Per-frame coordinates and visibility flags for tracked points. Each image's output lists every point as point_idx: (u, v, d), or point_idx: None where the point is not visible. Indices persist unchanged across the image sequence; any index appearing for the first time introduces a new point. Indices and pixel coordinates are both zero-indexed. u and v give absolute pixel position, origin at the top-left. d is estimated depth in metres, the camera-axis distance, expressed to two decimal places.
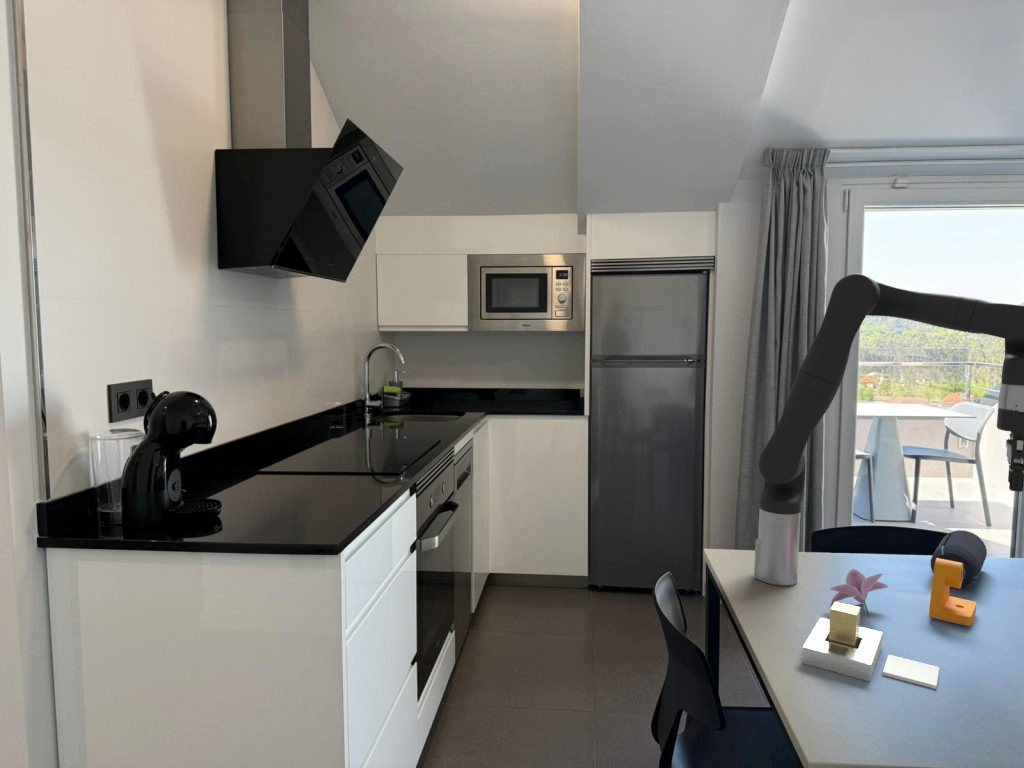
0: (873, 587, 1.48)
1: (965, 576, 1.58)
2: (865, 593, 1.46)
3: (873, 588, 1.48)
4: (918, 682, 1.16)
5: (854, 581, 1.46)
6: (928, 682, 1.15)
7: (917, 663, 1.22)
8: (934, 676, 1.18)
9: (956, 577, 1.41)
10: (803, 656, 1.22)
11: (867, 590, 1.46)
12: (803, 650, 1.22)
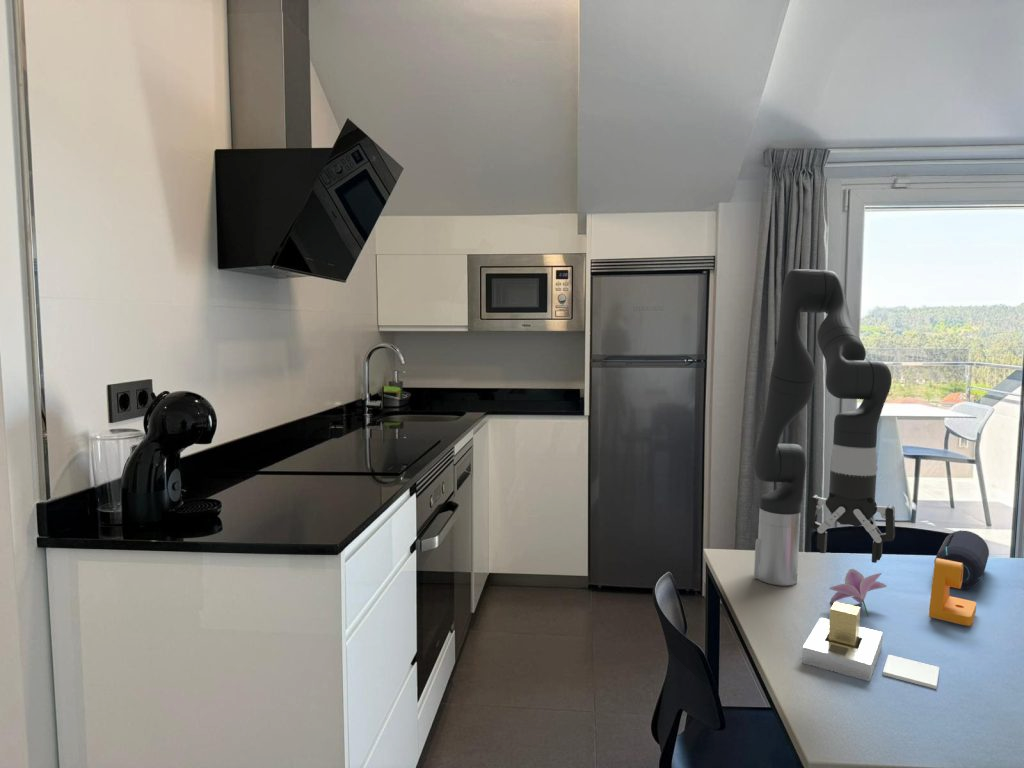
0: (872, 587, 1.48)
1: (969, 577, 1.57)
2: (864, 593, 1.46)
3: (872, 588, 1.48)
4: (918, 682, 1.16)
5: (853, 581, 1.46)
6: (928, 682, 1.15)
7: (917, 663, 1.22)
8: (934, 676, 1.18)
9: (956, 577, 1.41)
10: (803, 656, 1.22)
11: (866, 590, 1.46)
12: (803, 650, 1.22)
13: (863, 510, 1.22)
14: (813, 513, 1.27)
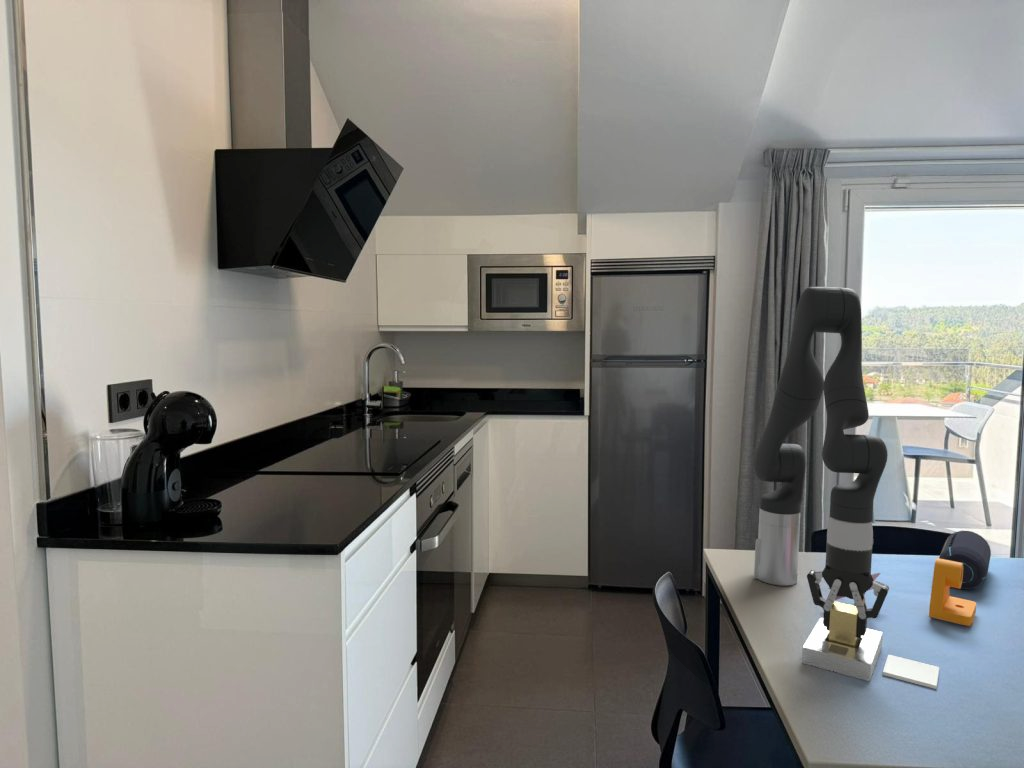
0: None
1: (973, 577, 1.57)
2: None
3: (871, 587, 1.49)
4: (918, 682, 1.16)
5: None
6: (928, 682, 1.15)
7: (917, 663, 1.22)
8: (934, 676, 1.18)
9: (956, 577, 1.41)
10: (803, 656, 1.22)
11: None
12: (803, 650, 1.22)
13: (859, 585, 1.23)
14: (815, 589, 1.27)
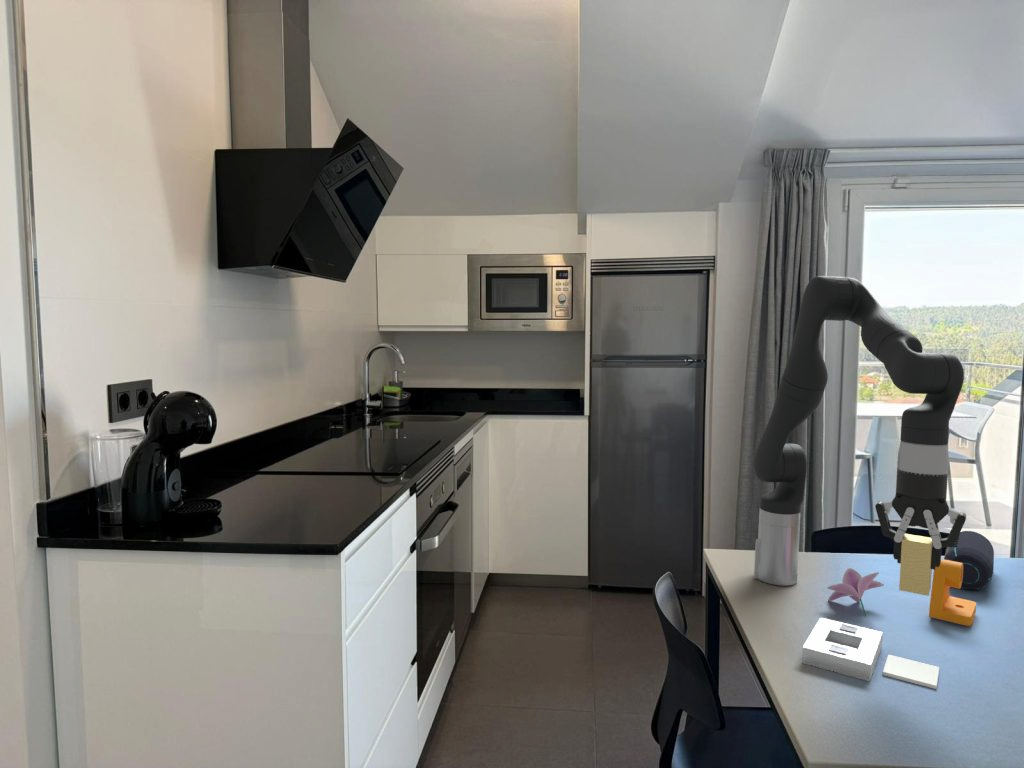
0: (869, 586, 1.49)
1: (979, 578, 1.57)
2: (861, 592, 1.46)
3: (869, 587, 1.49)
4: (918, 682, 1.16)
5: (851, 580, 1.46)
6: (928, 682, 1.15)
7: (917, 663, 1.22)
8: (934, 676, 1.18)
9: (956, 577, 1.41)
10: (803, 656, 1.22)
11: (863, 589, 1.47)
12: (803, 650, 1.22)
13: (934, 513, 1.15)
14: (884, 520, 1.20)
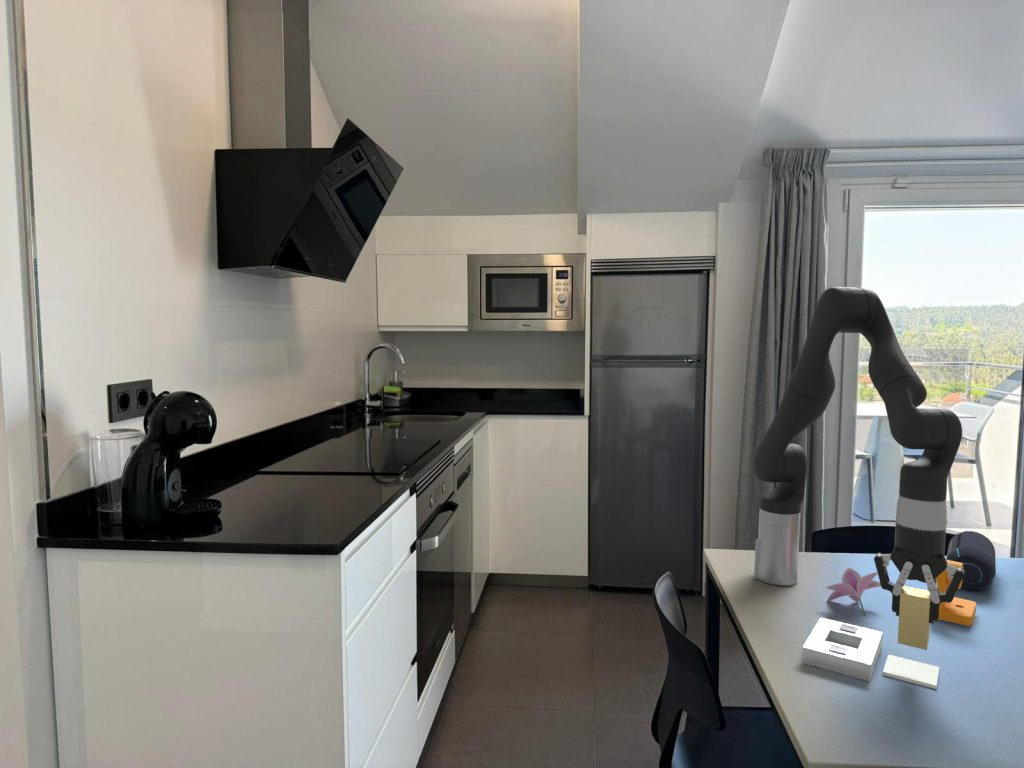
0: (868, 585, 1.49)
1: (982, 578, 1.56)
2: (861, 592, 1.47)
3: (868, 586, 1.49)
4: (918, 682, 1.16)
5: (850, 580, 1.47)
6: (928, 682, 1.15)
7: (917, 663, 1.22)
8: (934, 676, 1.18)
9: None
10: (803, 656, 1.22)
11: (863, 589, 1.47)
12: (803, 650, 1.22)
13: (932, 568, 1.16)
14: (883, 573, 1.20)
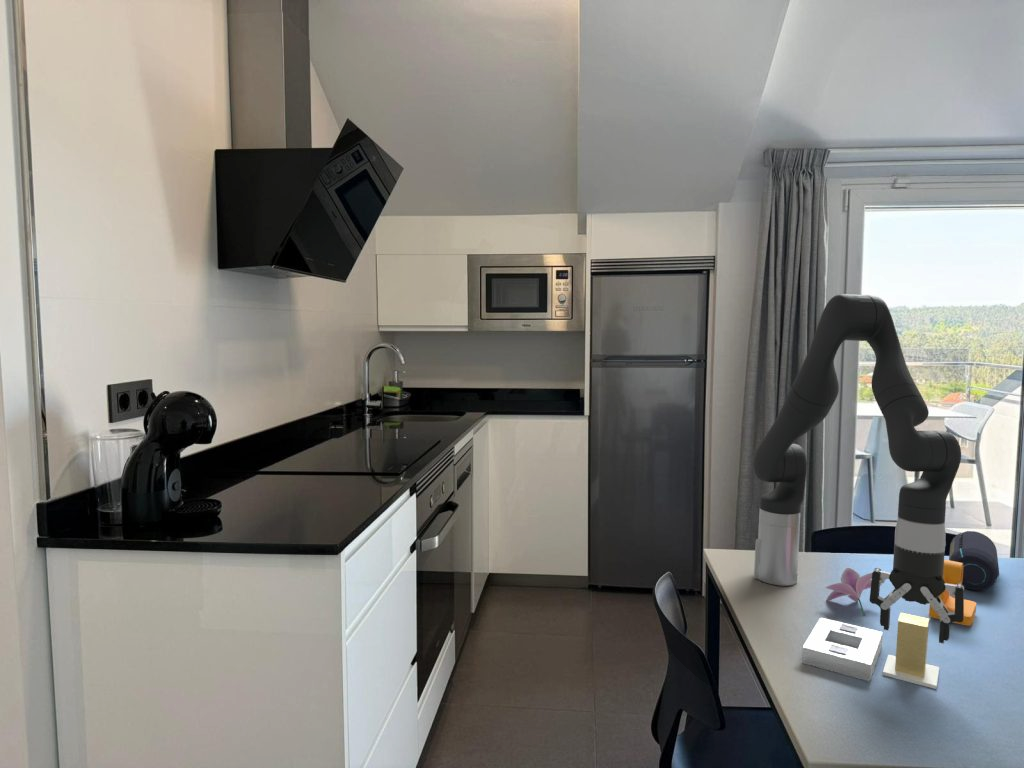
0: (867, 585, 1.49)
1: (986, 579, 1.56)
2: (860, 591, 1.47)
3: (867, 586, 1.49)
4: (918, 682, 1.16)
5: (849, 580, 1.47)
6: (928, 682, 1.15)
7: None
8: (934, 676, 1.18)
9: (956, 577, 1.41)
10: (803, 656, 1.22)
11: (862, 588, 1.47)
12: (803, 650, 1.22)
13: (930, 588, 1.16)
14: (876, 588, 1.21)
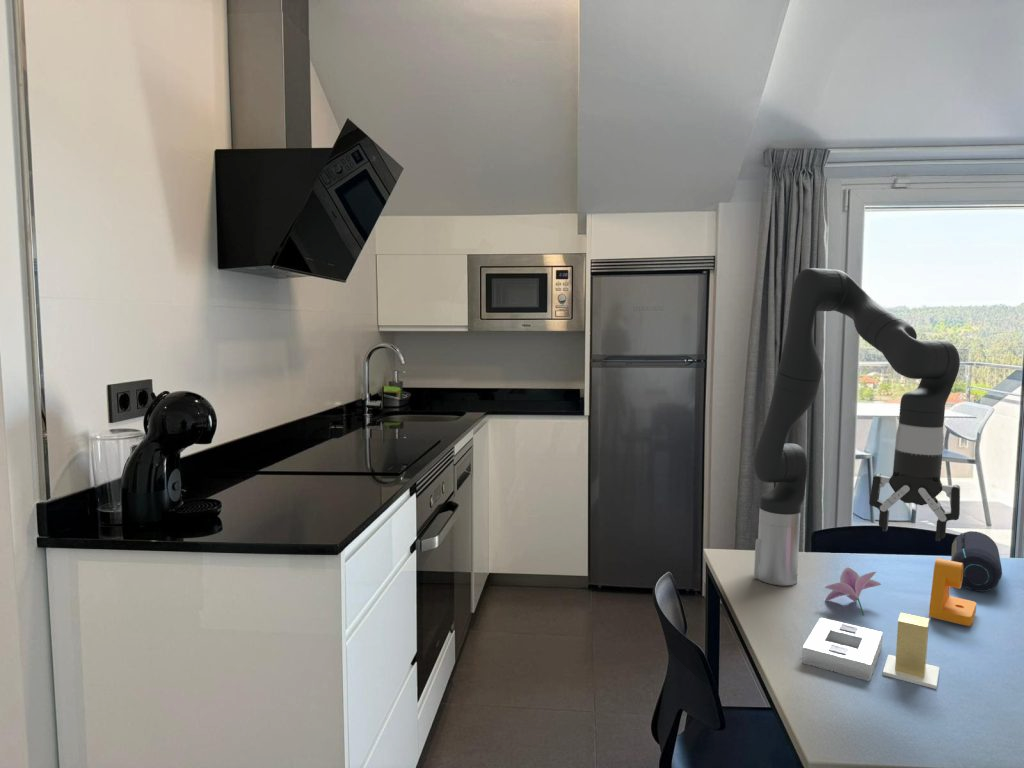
0: (866, 585, 1.49)
1: (989, 579, 1.56)
2: (859, 591, 1.47)
3: (866, 586, 1.49)
4: (918, 682, 1.16)
5: (848, 579, 1.47)
6: (928, 682, 1.15)
7: None
8: (934, 676, 1.18)
9: (956, 577, 1.41)
10: (803, 656, 1.22)
11: (861, 588, 1.47)
12: (803, 650, 1.22)
13: (928, 489, 1.23)
14: (876, 491, 1.28)
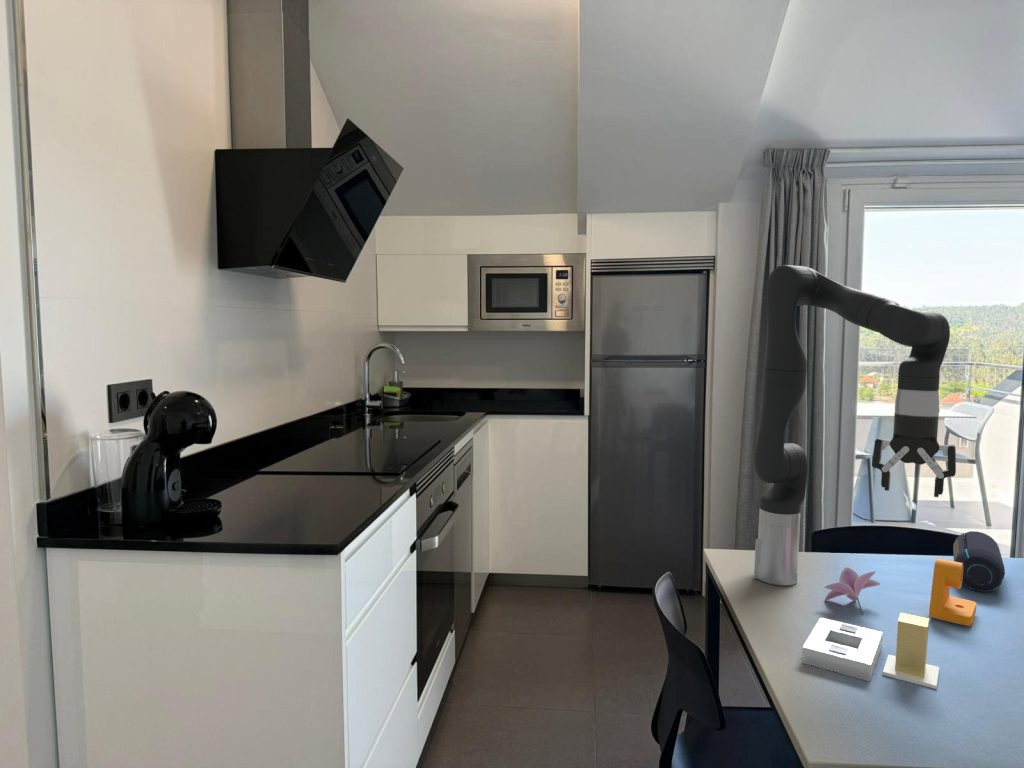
0: (865, 585, 1.49)
1: (992, 579, 1.56)
2: (858, 591, 1.47)
3: (865, 586, 1.50)
4: (918, 682, 1.16)
5: (848, 579, 1.47)
6: (928, 682, 1.15)
7: None
8: (934, 676, 1.18)
9: (956, 577, 1.41)
10: (803, 656, 1.22)
11: (860, 588, 1.47)
12: (803, 650, 1.22)
13: (926, 449, 1.33)
14: (878, 454, 1.37)
